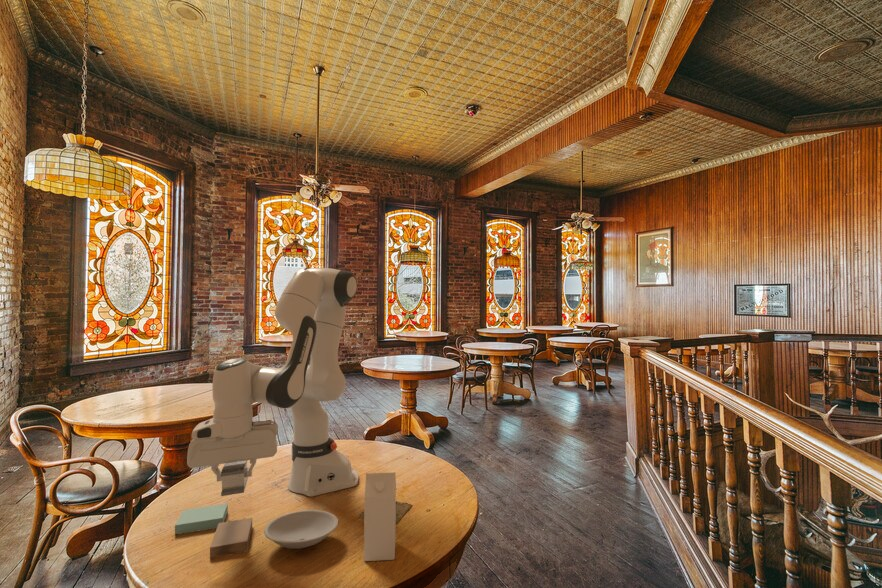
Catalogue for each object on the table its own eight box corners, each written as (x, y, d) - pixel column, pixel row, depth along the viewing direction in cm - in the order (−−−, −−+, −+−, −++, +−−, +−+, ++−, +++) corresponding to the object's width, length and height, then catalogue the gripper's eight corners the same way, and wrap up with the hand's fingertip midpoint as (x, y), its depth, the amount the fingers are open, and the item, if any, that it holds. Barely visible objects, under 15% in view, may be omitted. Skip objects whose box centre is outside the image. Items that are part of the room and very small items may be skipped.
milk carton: (366, 543, 102) (367, 467, 102) (395, 542, 102) (395, 466, 102) (363, 562, 95) (364, 480, 95) (394, 560, 95) (395, 479, 95)
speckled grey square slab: (356, 519, 113) (356, 516, 113) (377, 499, 125) (377, 496, 125) (394, 528, 109) (395, 524, 109) (413, 506, 121) (413, 503, 121)
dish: (254, 565, 93) (254, 544, 93) (274, 530, 107) (274, 511, 107) (332, 562, 94) (332, 540, 95) (342, 527, 109) (342, 508, 109)
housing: (247, 478, 108) (247, 457, 107) (243, 492, 100) (243, 470, 100) (226, 481, 106) (226, 460, 106) (221, 496, 98) (220, 473, 98)
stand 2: (252, 527, 109) (252, 517, 109) (247, 551, 98) (247, 541, 98) (218, 532, 106) (218, 523, 106) (209, 558, 96) (209, 547, 96)
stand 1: (227, 512, 116) (227, 503, 116) (222, 527, 109) (222, 517, 109) (183, 519, 112) (183, 509, 112) (174, 534, 105) (174, 525, 105)
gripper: (278, 415, 109) (279, 466, 109) (191, 425, 102) (192, 479, 103) (277, 422, 103) (278, 476, 103) (184, 433, 96) (185, 491, 97)
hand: (234, 478), depth 103 cm, fingers closed on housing, 5 cm apart
